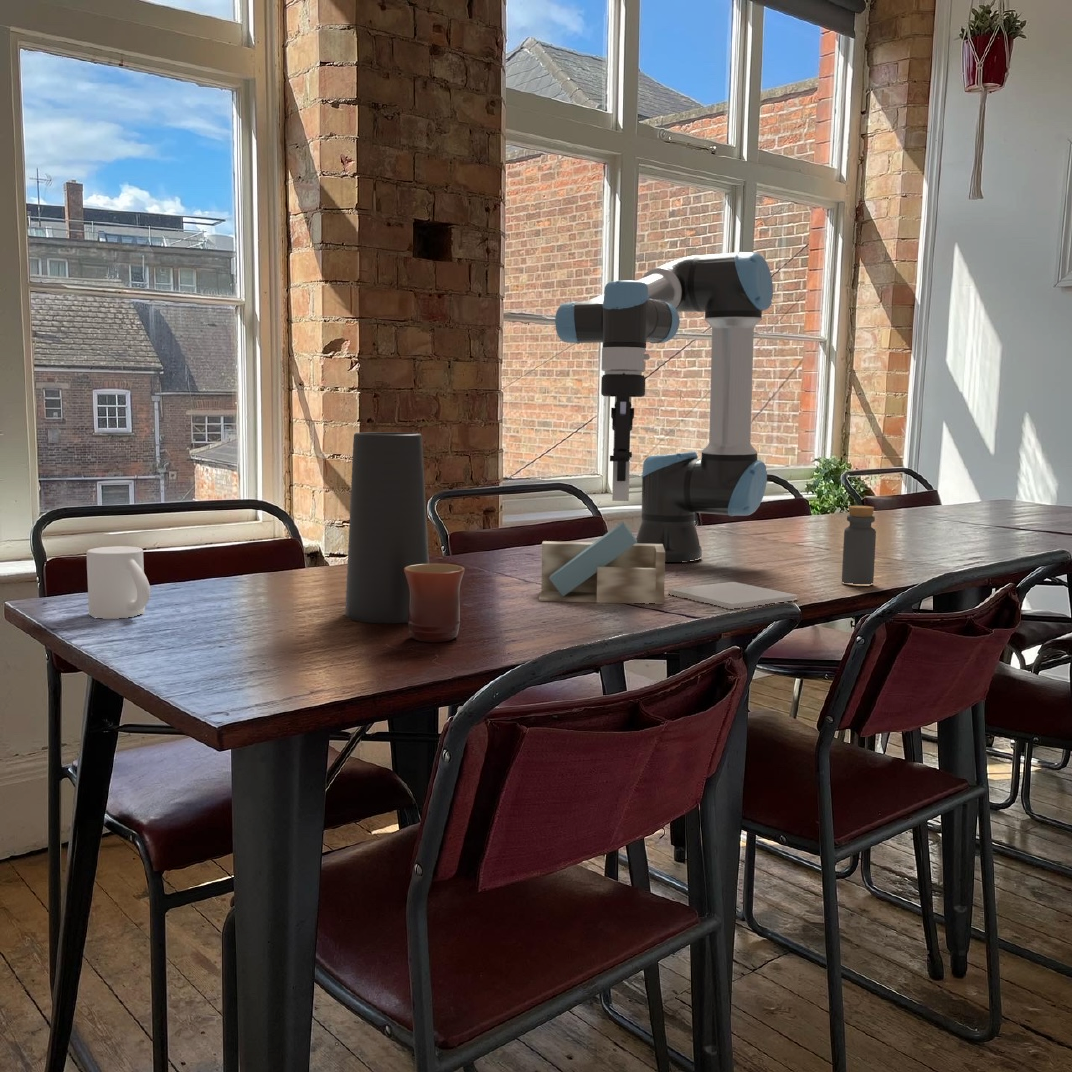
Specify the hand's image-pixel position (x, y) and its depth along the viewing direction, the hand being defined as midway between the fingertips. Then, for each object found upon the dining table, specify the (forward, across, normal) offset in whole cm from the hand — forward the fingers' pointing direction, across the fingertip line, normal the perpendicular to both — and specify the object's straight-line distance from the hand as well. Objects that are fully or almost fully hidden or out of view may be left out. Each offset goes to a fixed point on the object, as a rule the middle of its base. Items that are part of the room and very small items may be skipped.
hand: (620, 497), depth 187 cm
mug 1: (+19, -26, +77) cm, 83 cm away
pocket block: (+18, +1, +3) cm, 18 cm away
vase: (+18, -19, +37) cm, 45 cm away
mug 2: (+18, -33, +27) cm, 47 cm away
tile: (+18, +4, -20) cm, 27 cm away
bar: (+12, 0, +3) cm, 13 cm away
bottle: (+18, +21, -46) cm, 54 cm away
